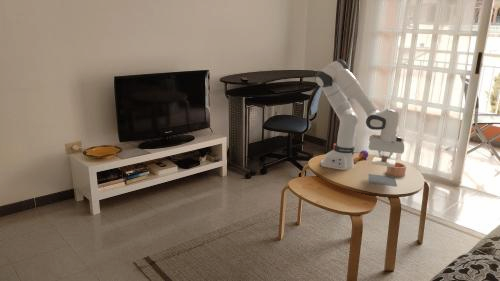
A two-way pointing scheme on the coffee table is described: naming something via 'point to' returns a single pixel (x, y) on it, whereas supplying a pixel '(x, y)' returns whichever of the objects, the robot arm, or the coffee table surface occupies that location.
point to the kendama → (361, 156)
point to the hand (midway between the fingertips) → (384, 158)
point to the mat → (382, 180)
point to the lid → (383, 161)
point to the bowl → (397, 169)
